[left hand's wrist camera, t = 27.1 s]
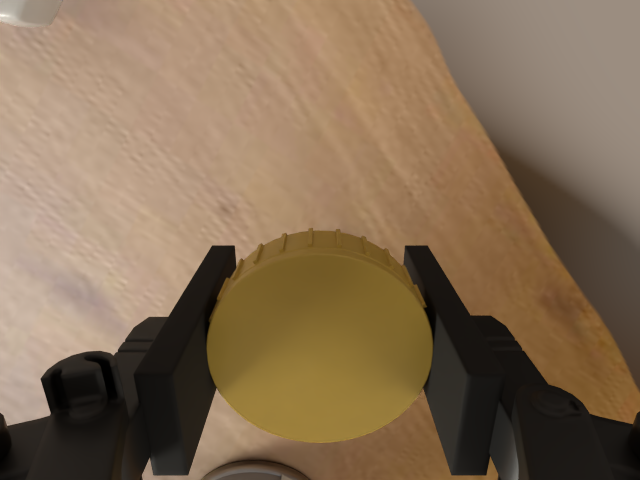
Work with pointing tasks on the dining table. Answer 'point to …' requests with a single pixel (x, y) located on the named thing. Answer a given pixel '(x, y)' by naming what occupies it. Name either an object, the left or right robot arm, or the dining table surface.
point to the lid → (319, 337)
